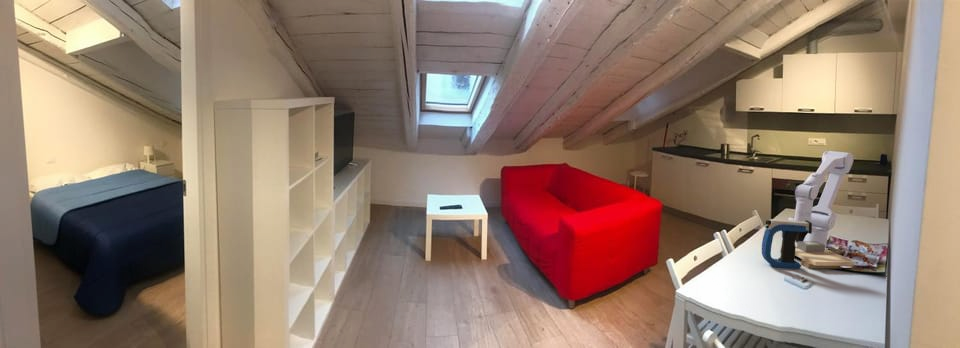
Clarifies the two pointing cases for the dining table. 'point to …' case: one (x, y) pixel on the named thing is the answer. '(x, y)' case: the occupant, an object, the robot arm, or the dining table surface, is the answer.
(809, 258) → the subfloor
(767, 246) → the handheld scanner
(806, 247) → the block
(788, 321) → the dining table surface
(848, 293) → the dining table surface
